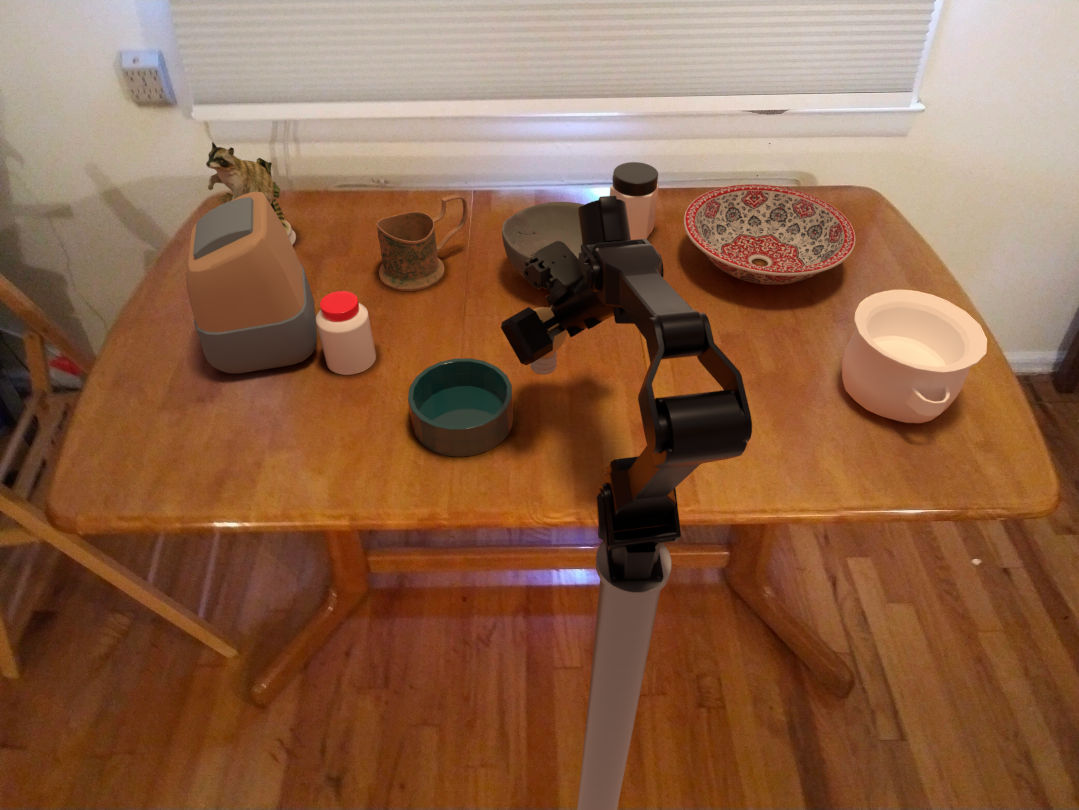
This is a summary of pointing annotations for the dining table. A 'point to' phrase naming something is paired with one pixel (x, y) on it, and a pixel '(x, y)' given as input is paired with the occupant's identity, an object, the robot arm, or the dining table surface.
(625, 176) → the jar
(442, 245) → the mug
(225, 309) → the trash can
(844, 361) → the pot
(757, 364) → the dining table surface
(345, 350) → the pill bottle
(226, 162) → the figurine
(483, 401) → the round teal dish
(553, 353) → the light bulb
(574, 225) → the bowl
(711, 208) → the ceramic bowl
